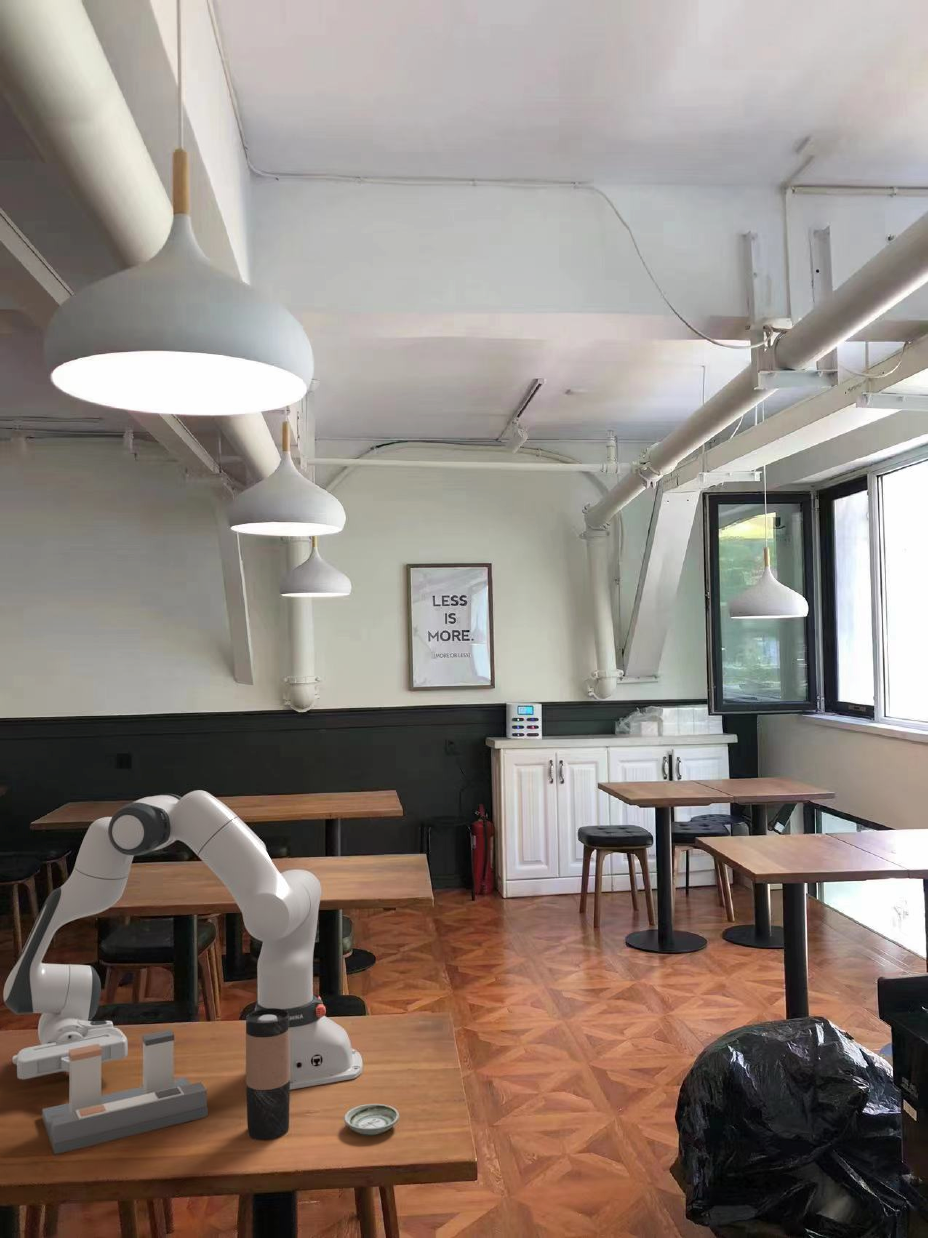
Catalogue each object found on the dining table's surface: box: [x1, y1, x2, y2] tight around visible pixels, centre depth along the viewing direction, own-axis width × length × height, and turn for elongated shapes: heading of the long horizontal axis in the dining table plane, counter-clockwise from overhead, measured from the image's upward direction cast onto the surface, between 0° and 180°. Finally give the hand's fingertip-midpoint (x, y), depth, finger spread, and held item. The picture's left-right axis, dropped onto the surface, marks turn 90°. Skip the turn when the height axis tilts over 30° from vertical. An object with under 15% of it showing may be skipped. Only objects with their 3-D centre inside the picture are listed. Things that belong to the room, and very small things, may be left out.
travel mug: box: [245, 1008, 291, 1141], centre depth 174 cm, size 8×8×20 cm
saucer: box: [343, 1103, 400, 1136], centre depth 174 cm, size 10×10×2 cm
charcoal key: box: [141, 1029, 175, 1095], centre depth 185 cm, size 3×5×11 cm, turn 120°
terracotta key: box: [68, 1044, 102, 1112], centre depth 179 cm, size 3×5×11 cm, turn 120°
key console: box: [41, 1076, 209, 1155], centre depth 180 cm, size 26×16×5 cm, turn 120°
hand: (78, 1068), depth 186 cm, fingers closed
